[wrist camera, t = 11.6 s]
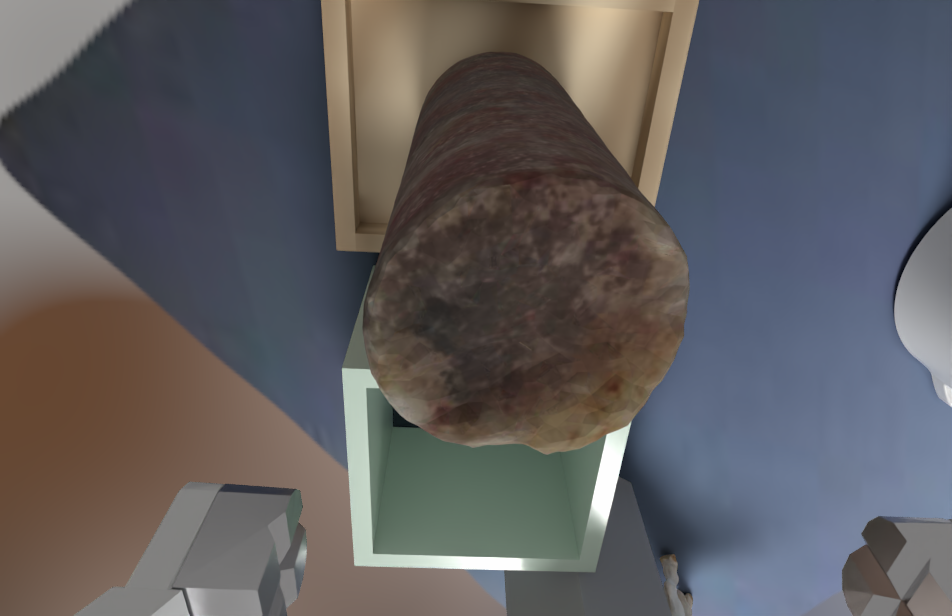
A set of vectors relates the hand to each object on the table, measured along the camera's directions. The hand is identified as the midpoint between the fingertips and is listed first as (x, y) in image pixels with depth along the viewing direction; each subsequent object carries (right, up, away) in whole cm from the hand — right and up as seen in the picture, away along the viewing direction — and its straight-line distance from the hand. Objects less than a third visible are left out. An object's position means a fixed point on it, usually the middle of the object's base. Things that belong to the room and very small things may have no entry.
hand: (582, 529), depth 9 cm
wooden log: (-1, +12, +21) cm, 25 cm away
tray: (0, +13, +22) cm, 25 cm away
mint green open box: (-1, 0, +30) cm, 30 cm away
